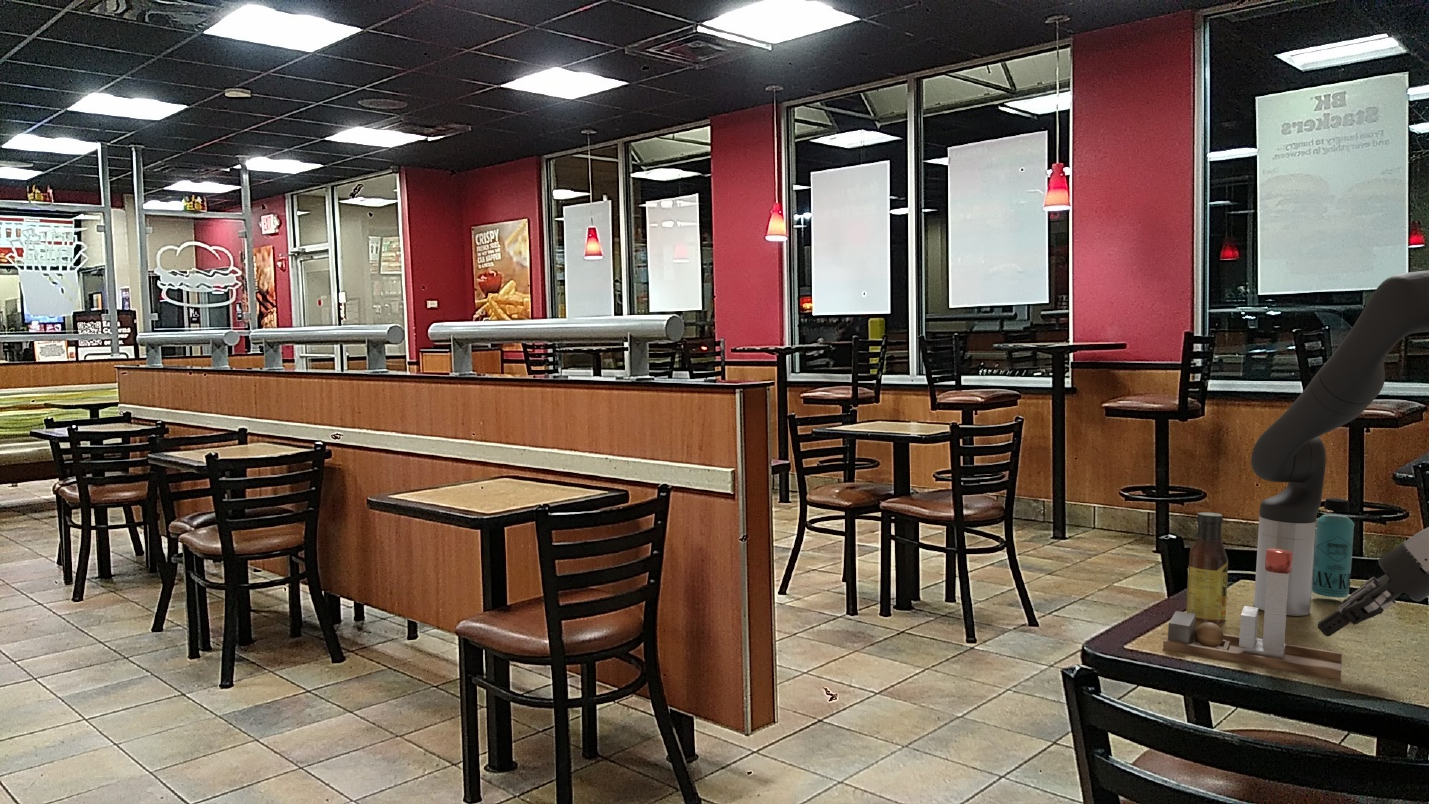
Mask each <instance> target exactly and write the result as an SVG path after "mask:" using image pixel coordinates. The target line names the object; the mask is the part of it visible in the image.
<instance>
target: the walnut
mask: <svg viewBox="0 0 1429 804" xmlns="http://www.w3.org/2000/svg"><path fill="white" fill-rule="evenodd" d="M1196 629H1197V630H1196V638H1197V640H1198V642H1199V643H1200V644H1201V645H1204V646H1210V647H1217V646H1219V645H1220V644H1221V643H1222V641H1223V638H1224V635H1223V634H1224V632H1223V630H1222V628H1221V627H1220V626H1219V625H1218V624H1216V623H1211V622H1202V623H1201V624H1199V625H1198V626H1197V628H1196Z"/></svg>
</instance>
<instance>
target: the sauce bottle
mask: <svg viewBox="0 0 1429 804" xmlns="http://www.w3.org/2000/svg"><path fill="white" fill-rule="evenodd" d="M1223 518H1224V516H1223V514H1222V513H1217V512H1216V513H1215V512H1208V511H1207V512H1198V513H1197V516H1196V522H1197V534H1196V537H1197V539H1196V541H1195V542H1194V544H1193V545H1192V546H1191V548H1190V550H1189V560H1188V564H1189V565H1187V567H1188V568H1187V595H1186V596H1187V597H1186V600H1187V601H1186V613H1193V614H1196V621H1199V622H1202V623H1206V622H1211V623H1214V624H1216V623H1223V622H1225V620H1226V617H1227V597H1228V596H1227V595H1228V574H1229V573H1228V570H1229V559H1228V555H1227V552H1226V550H1225V547H1224V546H1225V545H1224V543H1223V539H1222V524H1223V523H1224V519H1223Z"/></svg>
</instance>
